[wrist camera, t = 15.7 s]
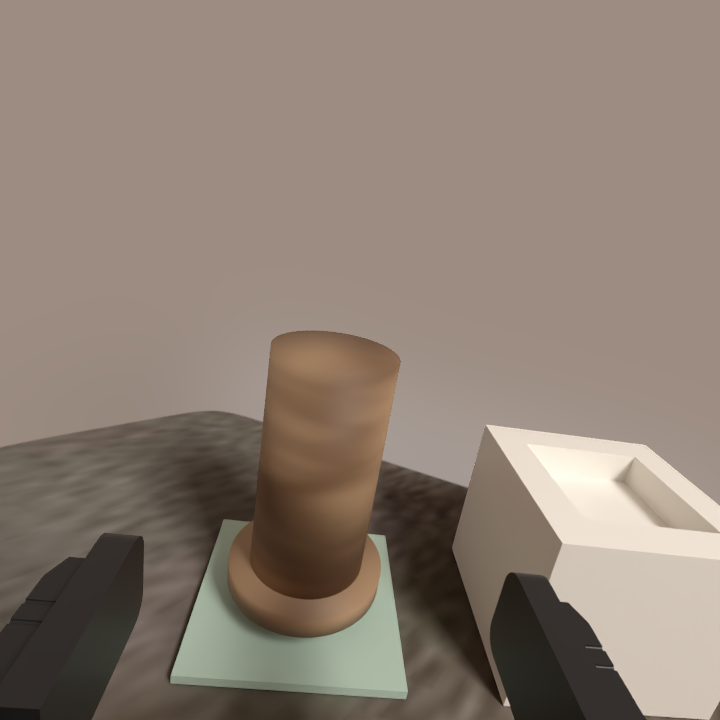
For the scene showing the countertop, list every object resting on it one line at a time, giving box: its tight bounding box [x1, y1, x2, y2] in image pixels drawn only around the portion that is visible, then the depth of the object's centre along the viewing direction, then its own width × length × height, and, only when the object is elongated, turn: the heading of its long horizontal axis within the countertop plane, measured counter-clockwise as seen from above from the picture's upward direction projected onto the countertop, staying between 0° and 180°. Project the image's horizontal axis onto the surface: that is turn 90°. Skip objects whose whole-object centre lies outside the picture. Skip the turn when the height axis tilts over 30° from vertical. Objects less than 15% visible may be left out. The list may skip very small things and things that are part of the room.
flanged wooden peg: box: [227, 331, 401, 638], centre depth 20 cm, size 7×7×12 cm
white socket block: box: [452, 425, 720, 720], centre depth 23 cm, size 9×9×8 cm
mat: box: [170, 519, 408, 699], centre depth 23 cm, size 9×9×1 cm
